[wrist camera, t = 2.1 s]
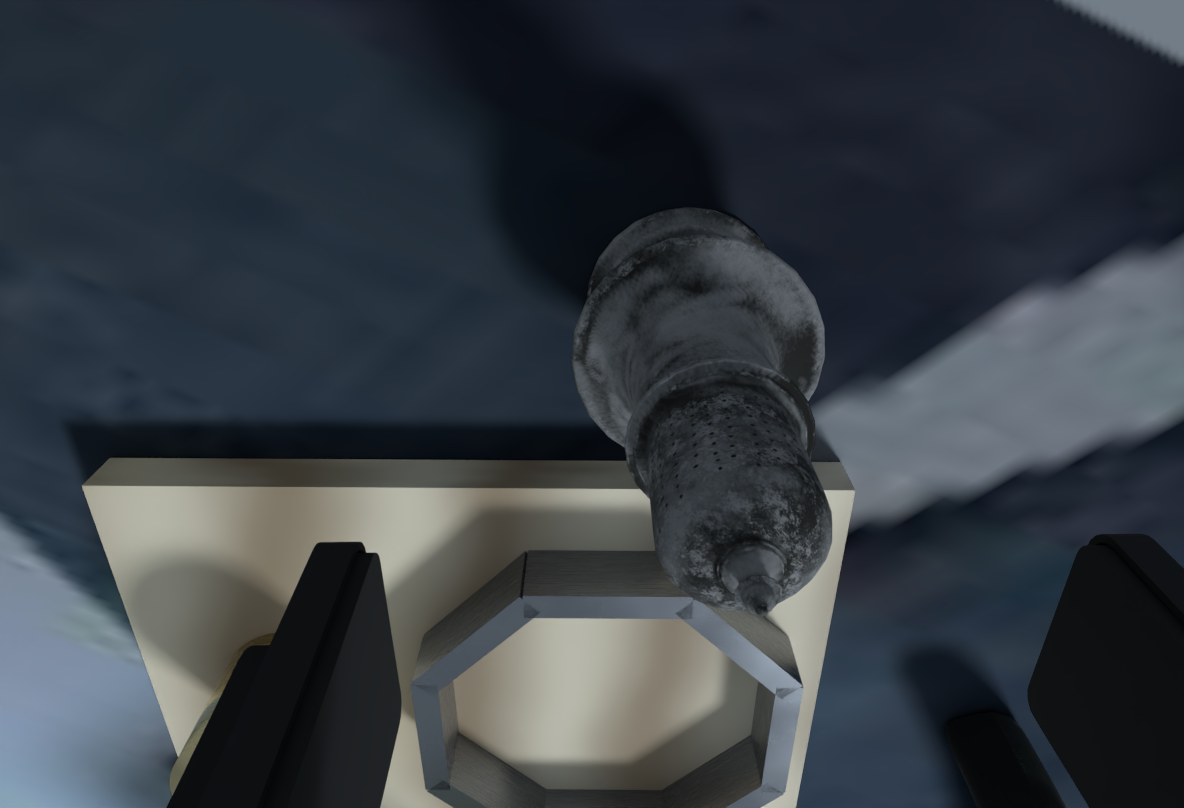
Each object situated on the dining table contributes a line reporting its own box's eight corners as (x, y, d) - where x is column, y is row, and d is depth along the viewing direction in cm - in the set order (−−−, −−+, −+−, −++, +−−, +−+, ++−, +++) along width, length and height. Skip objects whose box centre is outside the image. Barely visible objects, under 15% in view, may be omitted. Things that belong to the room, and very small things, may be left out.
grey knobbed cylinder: (533, 268, 21) (469, 555, 11) (732, 151, 20) (884, 350, 9) (641, 432, 24) (676, 801, 13) (827, 338, 22) (1034, 668, 12)
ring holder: (803, 551, 24) (819, 597, 22) (763, 805, 29) (773, 858, 28) (412, 549, 24) (397, 595, 22) (444, 802, 29) (435, 855, 28)
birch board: (841, 462, 24) (855, 490, 23) (780, 807, 32) (789, 843, 30) (109, 457, 24) (81, 485, 23) (223, 802, 32) (206, 838, 30)
